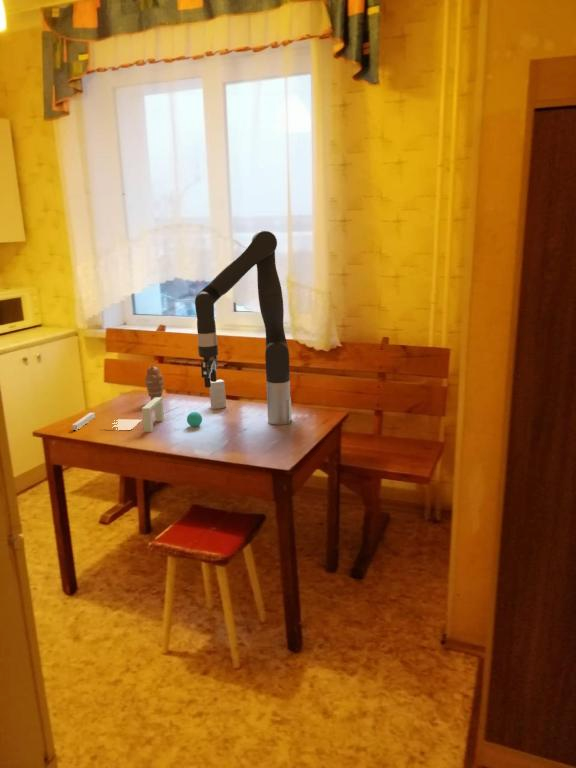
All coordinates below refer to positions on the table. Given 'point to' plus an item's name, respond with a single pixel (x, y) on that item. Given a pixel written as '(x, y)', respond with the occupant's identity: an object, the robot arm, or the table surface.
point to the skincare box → (217, 394)
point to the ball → (194, 419)
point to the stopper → (83, 421)
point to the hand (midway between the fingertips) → (210, 384)
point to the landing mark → (126, 424)
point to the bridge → (147, 413)
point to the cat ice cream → (154, 382)
